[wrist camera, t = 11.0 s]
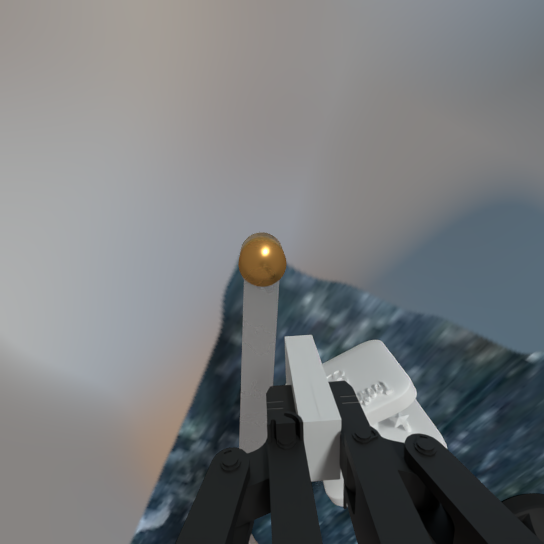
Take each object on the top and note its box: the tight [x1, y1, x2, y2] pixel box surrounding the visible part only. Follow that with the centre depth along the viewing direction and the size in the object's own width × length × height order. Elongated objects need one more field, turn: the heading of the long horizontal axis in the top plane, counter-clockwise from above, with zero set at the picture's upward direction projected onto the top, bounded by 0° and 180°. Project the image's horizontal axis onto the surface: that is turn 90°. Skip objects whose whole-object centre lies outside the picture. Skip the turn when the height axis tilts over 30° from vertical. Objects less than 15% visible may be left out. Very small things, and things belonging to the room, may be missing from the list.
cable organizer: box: [285, 340, 447, 506], centre depth 39 cm, size 15×11×12 cm
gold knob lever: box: [239, 233, 286, 453], centre depth 26 cm, size 4×24×3 cm, turn 177°
